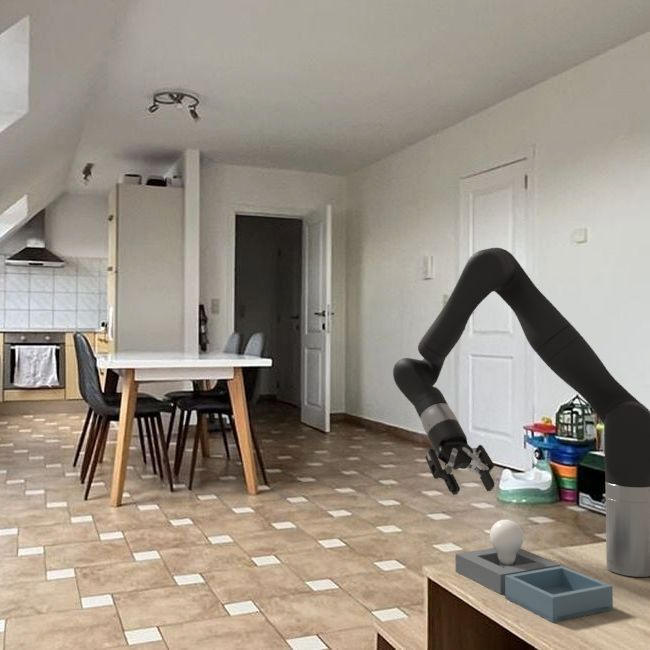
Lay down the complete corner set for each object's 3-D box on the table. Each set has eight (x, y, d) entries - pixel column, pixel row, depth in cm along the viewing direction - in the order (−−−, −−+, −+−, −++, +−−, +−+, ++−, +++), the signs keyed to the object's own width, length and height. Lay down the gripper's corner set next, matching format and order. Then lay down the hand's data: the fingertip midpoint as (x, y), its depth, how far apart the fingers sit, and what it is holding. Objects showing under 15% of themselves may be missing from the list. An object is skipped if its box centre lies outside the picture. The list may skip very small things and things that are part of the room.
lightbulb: (525, 583, 135) (524, 524, 135) (490, 581, 136) (489, 523, 136) (522, 572, 141) (522, 516, 141) (489, 571, 142) (489, 515, 142)
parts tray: (562, 587, 132) (562, 565, 133) (612, 609, 122) (612, 586, 122) (505, 598, 127) (505, 575, 127) (552, 622, 116) (552, 597, 116)
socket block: (512, 562, 148) (512, 545, 148) (560, 583, 135) (560, 564, 135) (455, 571, 142) (455, 553, 142) (500, 594, 129) (500, 574, 129)
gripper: (421, 419, 154) (452, 483, 143) (476, 416, 159) (510, 477, 149) (408, 441, 158) (438, 504, 148) (462, 437, 164) (494, 497, 153)
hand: (474, 490), depth 148 cm, fingers open, 8 cm apart
